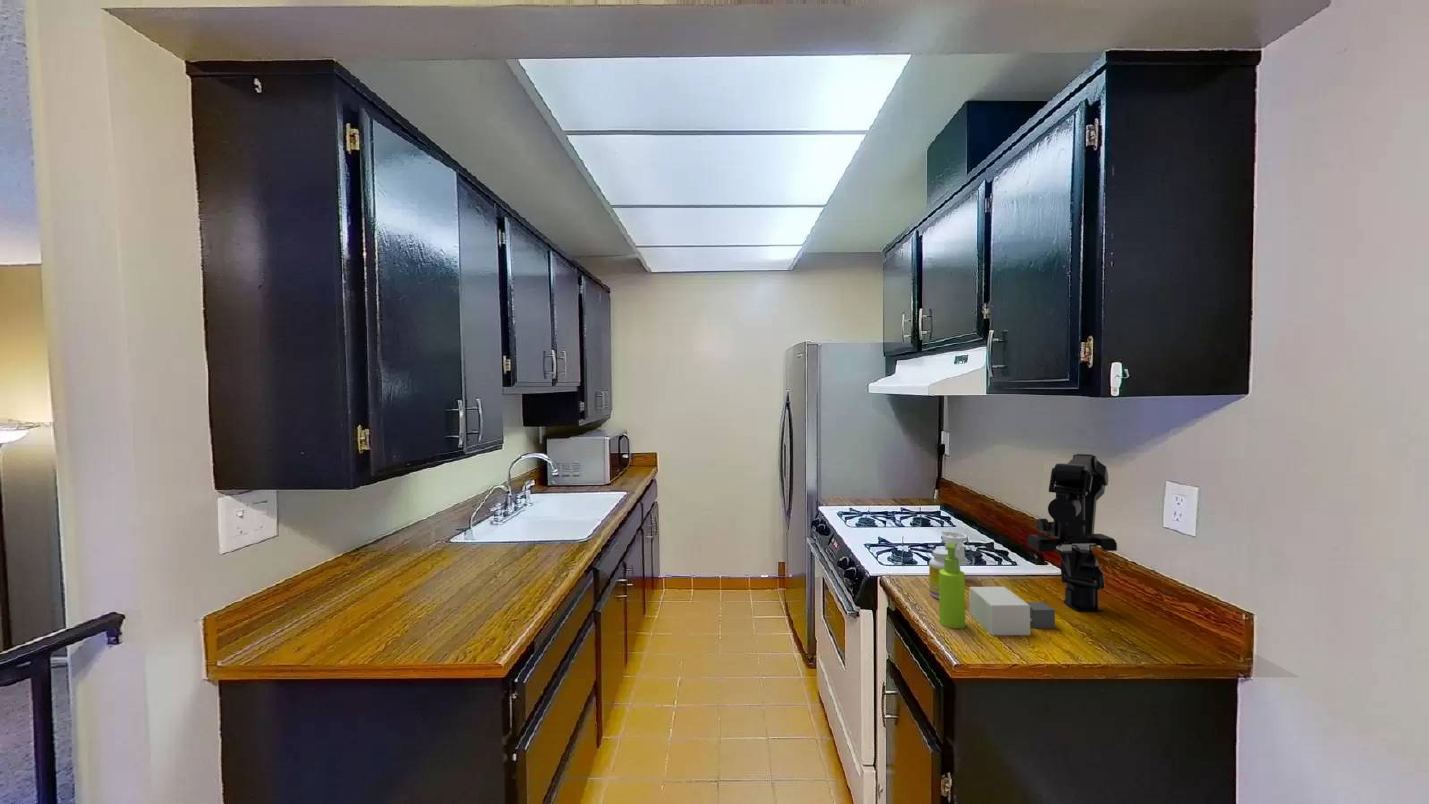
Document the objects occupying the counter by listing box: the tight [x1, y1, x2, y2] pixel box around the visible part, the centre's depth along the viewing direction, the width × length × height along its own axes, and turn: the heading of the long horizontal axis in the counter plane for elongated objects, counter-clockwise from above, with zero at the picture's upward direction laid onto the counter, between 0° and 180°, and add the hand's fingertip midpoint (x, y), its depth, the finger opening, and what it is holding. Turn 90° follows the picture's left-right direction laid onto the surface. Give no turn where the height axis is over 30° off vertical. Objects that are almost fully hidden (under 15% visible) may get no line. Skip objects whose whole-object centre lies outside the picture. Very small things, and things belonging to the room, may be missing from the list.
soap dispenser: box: [938, 542, 966, 629], centre depth 132 cm, size 6×7×20 cm
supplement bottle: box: [928, 548, 948, 600], centre depth 149 cm, size 7×7×13 cm
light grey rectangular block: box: [968, 586, 1031, 636], centre depth 131 cm, size 9×12×7 cm
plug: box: [1026, 601, 1056, 629], centre depth 131 cm, size 6×5×5 cm
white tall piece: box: [941, 529, 968, 571], centre depth 162 cm, size 7×7×15 cm
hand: (1071, 576), depth 130 cm, fingers closed
